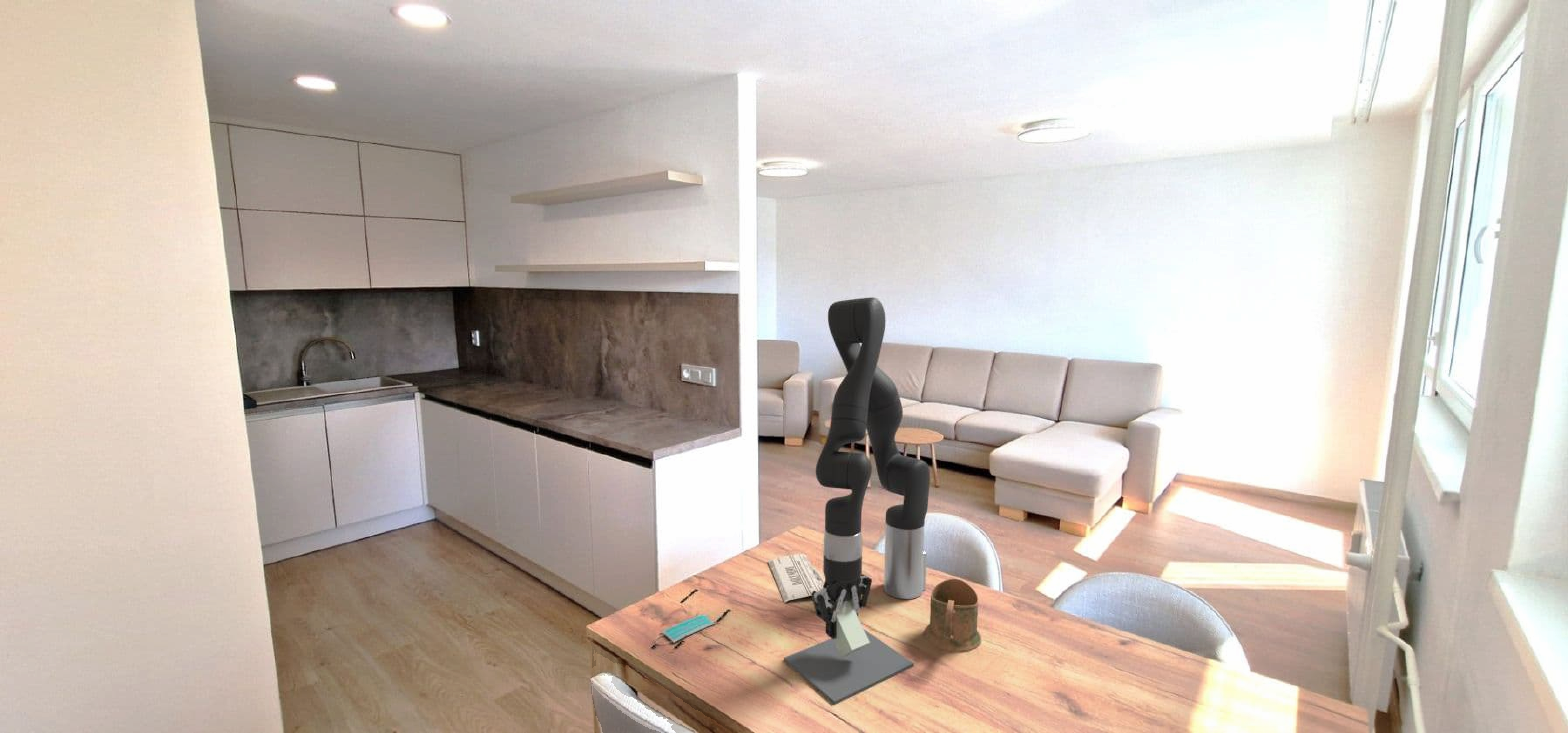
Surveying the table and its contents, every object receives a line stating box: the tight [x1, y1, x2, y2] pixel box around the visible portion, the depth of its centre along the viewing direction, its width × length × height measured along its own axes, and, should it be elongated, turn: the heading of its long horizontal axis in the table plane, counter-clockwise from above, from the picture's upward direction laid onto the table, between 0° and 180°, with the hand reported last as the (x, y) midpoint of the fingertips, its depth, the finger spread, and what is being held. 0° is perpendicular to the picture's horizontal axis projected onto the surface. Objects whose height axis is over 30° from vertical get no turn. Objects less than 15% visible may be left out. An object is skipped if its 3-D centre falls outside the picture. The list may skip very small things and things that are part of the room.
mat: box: [783, 629, 915, 705], centre depth 128 cm, size 20×16×1 cm
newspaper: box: [767, 553, 827, 603], centre depth 163 cm, size 23×12×2 cm, turn 12°
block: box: [831, 600, 870, 657], centre depth 128 cm, size 4×4×10 cm
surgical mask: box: [650, 589, 732, 649], centre depth 140 cm, size 21×4×10 cm
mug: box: [924, 578, 982, 653], centre depth 134 cm, size 12×18×12 cm, turn 160°
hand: (841, 632), depth 129 cm, fingers closed on block, 4 cm apart
